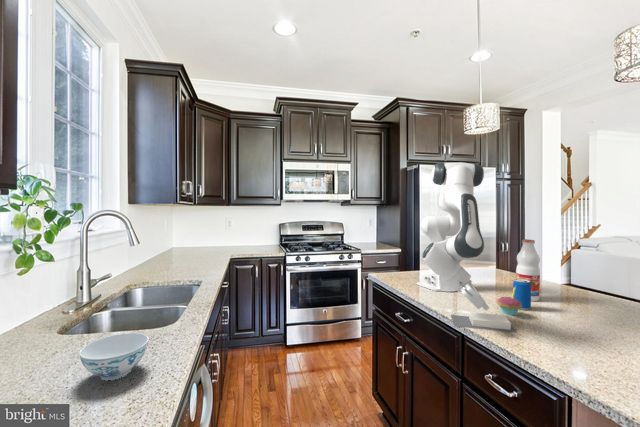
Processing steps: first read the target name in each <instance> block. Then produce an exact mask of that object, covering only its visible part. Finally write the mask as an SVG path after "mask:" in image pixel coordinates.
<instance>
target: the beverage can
mask: <svg viewBox="0 0 640 427" xmlns="http://www.w3.org/2000/svg"><path fill="white" fill-rule="evenodd" d="M515 286H516V287H515ZM514 288H516V289H515V294H514V298H515V299H517V300H519V301H520V302H521V303H522V307H521V308H520V309H519V310H522V311H528V310H529V309H531V307H532V301H531V283H530V281H529V280H525V279H516V278H515V279H514V280H513V283H512V290H513V289H514Z"/></svg>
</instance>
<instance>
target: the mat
mask: <svg viewBox="0 0 640 427" xmlns="http://www.w3.org/2000/svg"><path fill="white" fill-rule="evenodd" d="M450 318H451V321H452V323H453V327H458V328H468V329H475V330H476V329H477V330H487V331H494V332H495V331H497V332H505V333H514V334H518V331H517V330H516V329H515V328H514V326H513V325H512V324H511V330H507V329H497V328H488V327H478V326H473V325H472V323H471V321H470V319H469V315H468V316H467V315H456V314H450Z"/></svg>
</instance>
